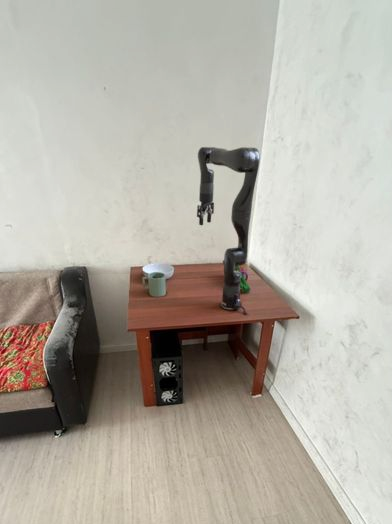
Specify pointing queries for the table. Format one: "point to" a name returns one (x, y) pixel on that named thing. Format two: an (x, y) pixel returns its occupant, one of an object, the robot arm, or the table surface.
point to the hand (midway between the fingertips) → (205, 223)
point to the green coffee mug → (156, 284)
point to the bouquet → (242, 278)
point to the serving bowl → (158, 269)
